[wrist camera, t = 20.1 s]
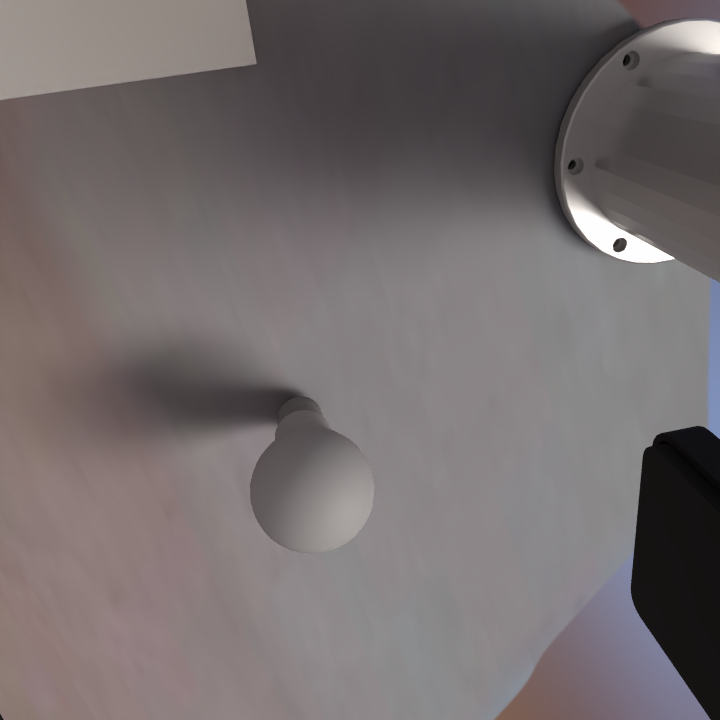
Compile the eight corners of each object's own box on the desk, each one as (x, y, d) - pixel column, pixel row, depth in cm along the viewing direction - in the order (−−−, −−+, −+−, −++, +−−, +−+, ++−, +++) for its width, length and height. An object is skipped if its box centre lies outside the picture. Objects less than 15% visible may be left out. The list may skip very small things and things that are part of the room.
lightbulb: (321, 345, 39) (352, 453, 29) (365, 423, 42) (406, 545, 32) (227, 392, 39) (226, 513, 30) (276, 466, 42) (291, 600, 32)
